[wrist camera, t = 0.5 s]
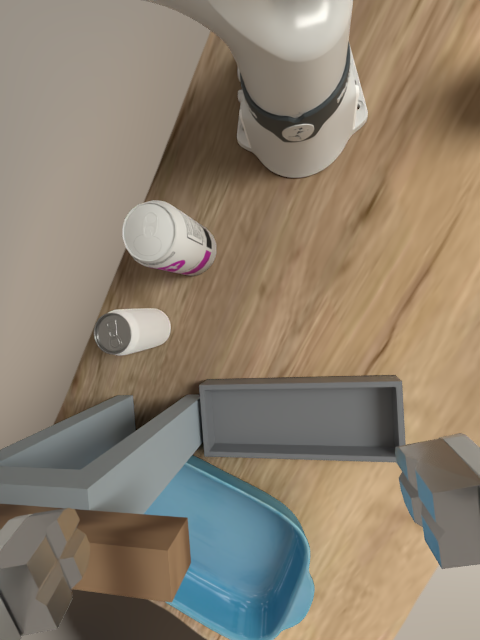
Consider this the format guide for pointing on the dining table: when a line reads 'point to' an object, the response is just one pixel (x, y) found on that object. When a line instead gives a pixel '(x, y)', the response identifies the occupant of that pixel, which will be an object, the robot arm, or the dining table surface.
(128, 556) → the walnut block
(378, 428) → the charcoal tray
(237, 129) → the robot arm
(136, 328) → the can
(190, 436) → the slate stand
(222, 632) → the casserole dish
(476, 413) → the dining table surface
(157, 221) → the supplement can
